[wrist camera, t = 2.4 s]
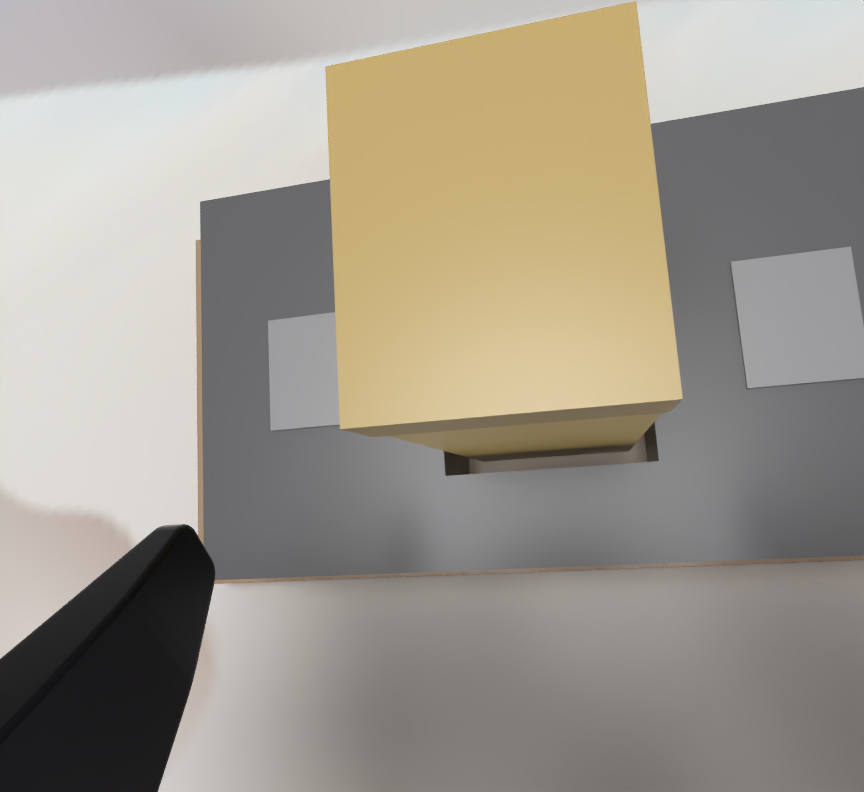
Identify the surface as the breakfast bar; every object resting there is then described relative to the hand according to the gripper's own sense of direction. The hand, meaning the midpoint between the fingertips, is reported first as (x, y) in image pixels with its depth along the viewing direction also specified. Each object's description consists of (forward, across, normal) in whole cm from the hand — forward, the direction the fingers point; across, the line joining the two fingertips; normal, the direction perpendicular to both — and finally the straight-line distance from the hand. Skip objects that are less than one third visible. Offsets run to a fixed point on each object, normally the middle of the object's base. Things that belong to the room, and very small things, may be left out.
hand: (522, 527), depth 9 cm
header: (+10, 0, +5) cm, 11 cm away
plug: (+9, 0, +4) cm, 9 cm away
